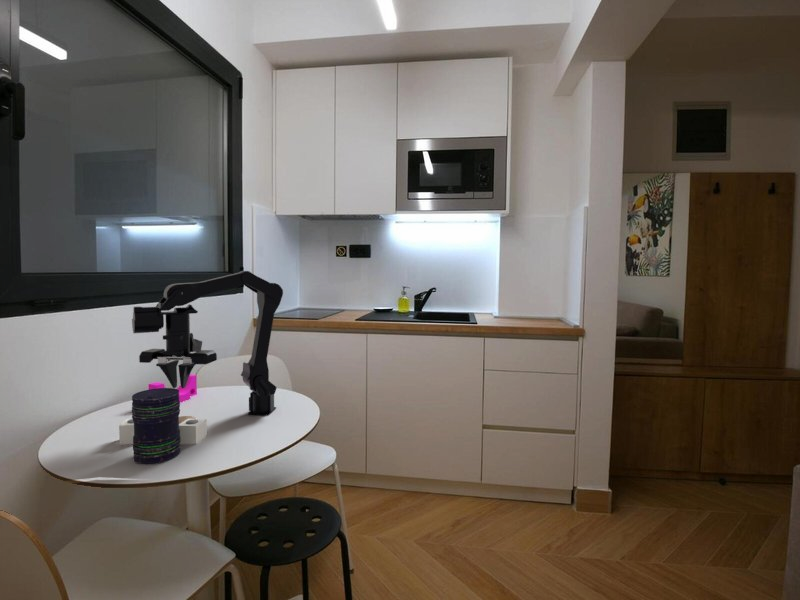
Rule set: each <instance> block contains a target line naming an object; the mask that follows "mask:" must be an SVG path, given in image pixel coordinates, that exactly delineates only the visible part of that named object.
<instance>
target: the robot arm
mask: <svg viewBox="0 0 800 600" xmlns="http://www.w3.org/2000/svg"><path fill="white" fill-rule="evenodd" d="M241 286H244V287H246V288H248V289H249V290H250V291H252V292H254V293H256V303H257V308H258V316H257V319H256V320H257V321H256V327H255V334H254V338H253V344H252V351H251V356H250V359H249V360H248V362H245V361H244V362H243V363H242V371H241V374H240V376H241V377H242V382H243V383H244V384H245V385H246V386H248V388H249V389H250V391H251V392H250V393H249V394H250V397H248V411H249V412H247V415H248V416H249V415H250V416H252V415H253V416H270V415H271V414H272V413H273V412H274V411H276V409H277V407H276V406H275V394H276V391H277V386H276V385H275V384H273V383H272V382H271V381H270V379H269V378H270V377H269V376H270V372H269V371H270V370H269V364H268V354H269V349H270V342H271V336H272V329H273V323H274V319H275V318H274V317H275V313H276V312H277V310H278V308H279V306H280V304H281V302H282V298H283V295H284V289H283V288H282V287H281V285H279V284H278V283H275V282H269V281H268V280H266V279H264V278H261V277H259V276H257V275H256V274H254V273H253V272H251V271H249V270H241V271H239V272H236V273H233V274H232V273H231V274H227V275H224V276H219V277H215V278H211V279H210V278H209V279H206V280H203V281H198V282H197V281H196V282H195V281H194V282H179V283H171V284H169V285H167V286H166V287H165V289H164V291H163V297H162V298H161V299H160V301H158V303H157V304H156V305H155V306H133V307H132V308H133V309H132V311H133V312H132V319H131V324H132V327H131V328H132V332H133V333H132V334H144V333H146V334H147V333H159V331H160V330H161V329H164V327H165V335H162V340H165V346H166V349H165V348H151V349H150V348H149V349H145V350H142V351H141V352H140V354H139V356H138V361H139V363H143V364H145V363H146V364H147V363H152V362H153V360H157V363H156V365H155V366H156V367H159V368H160V370H161V371H162V372H163V374H164V375H165V376H166V379H167V380H168V381H169V384H170V385H171V386H172V387H171V388H174V389H177V388H178V374H179V382H180V383H179V384H180V385H181V387H182V388H185V386H186V384H187V381H188V378H189V375H190V374H191V372H192V371H193V369H194V367H195V366H196V365H209V364H210V363H213V362H216V361H217V360H218V359H217V357H218V356H217V353H216V351H215V350H213V349H210V350H207V349H202V346H203V341H202V340H200V339H196V338H194V334H193V332H191V328H190V326H191V323H190V322H191V321H190V315H192V314H198V312H199V311H198V310H197V309H195V308H194V307H193V305H192V304H190V303H192V302H194V301H196V300H199V299H200V298H202V297H204V296H206V295H210V294H214V293H219V292H222V291H226V290H229V289H230V290H231V289H234V288H238V287H241ZM187 304H188V305H187ZM186 305H187V306H186ZM181 306H183V307H181ZM184 306H185V307H184ZM172 309H173V311H171V310H172ZM164 316H165V317H164ZM164 324H165V325H164ZM179 361H182V363H180V364H179ZM177 367H178V369H177ZM177 370H178V371H177ZM177 372H178V373H177Z"/></svg>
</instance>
